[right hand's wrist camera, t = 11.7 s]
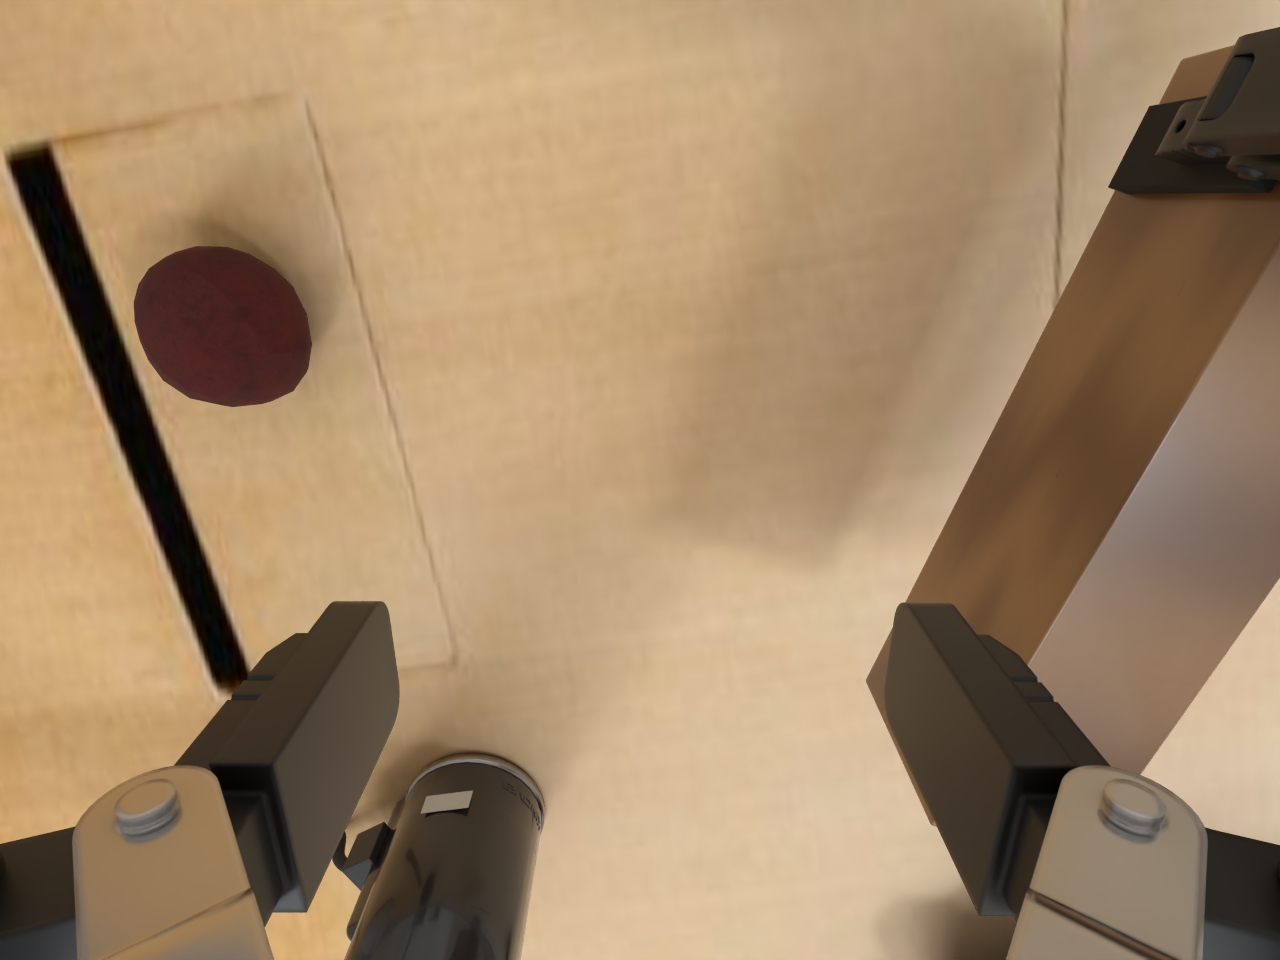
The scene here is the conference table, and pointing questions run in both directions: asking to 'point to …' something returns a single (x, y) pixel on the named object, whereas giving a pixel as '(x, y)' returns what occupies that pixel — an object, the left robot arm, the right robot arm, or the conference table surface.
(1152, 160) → the left robot arm
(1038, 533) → the bar
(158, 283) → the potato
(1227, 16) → the conference table surface
